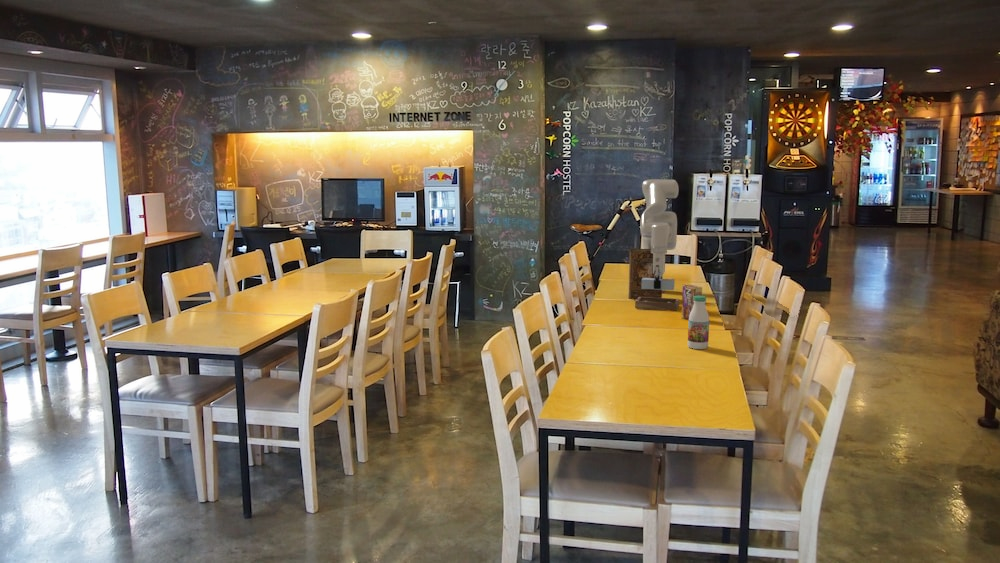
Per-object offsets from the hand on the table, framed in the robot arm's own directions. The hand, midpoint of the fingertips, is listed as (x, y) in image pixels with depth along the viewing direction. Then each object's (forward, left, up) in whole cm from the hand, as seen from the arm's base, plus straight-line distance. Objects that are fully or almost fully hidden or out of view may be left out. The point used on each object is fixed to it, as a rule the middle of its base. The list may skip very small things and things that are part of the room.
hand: (657, 287), depth 379 cm
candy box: (+23, +17, -10) cm, 30 cm away
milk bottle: (+73, +23, -10) cm, 77 cm away
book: (-21, -9, -10) cm, 25 cm away
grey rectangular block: (0, 0, -1) cm, 1 cm away
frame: (0, 0, -10) cm, 10 cm away
